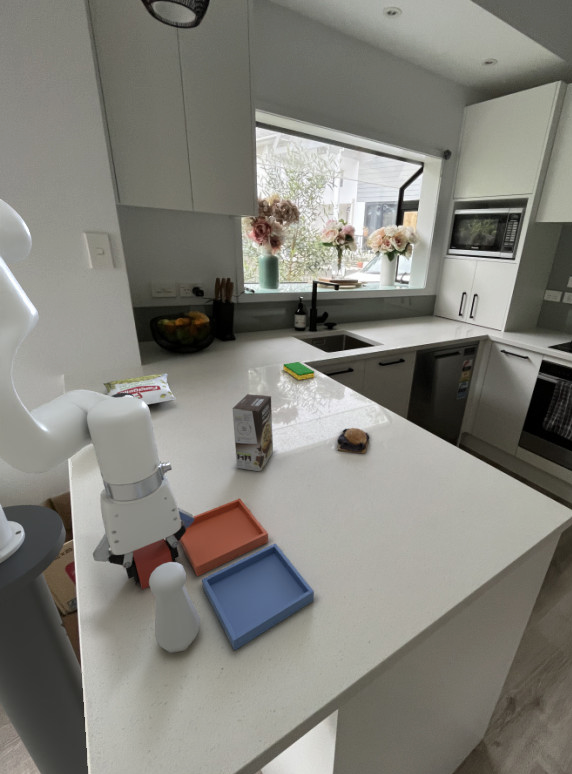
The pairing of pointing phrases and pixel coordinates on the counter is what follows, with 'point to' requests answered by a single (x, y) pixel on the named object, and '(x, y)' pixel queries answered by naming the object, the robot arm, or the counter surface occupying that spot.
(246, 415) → the coffee box
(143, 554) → the red block
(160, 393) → the frozen beans
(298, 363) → the dish sponge
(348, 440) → the burger
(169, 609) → the salt shaker
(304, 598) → the blue tray
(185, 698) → the counter surface
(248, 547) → the red tray
